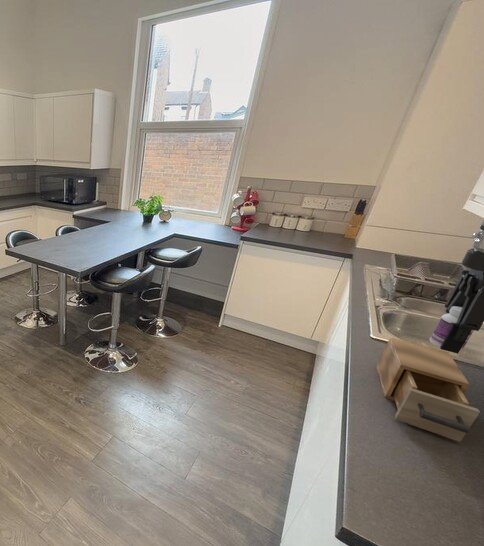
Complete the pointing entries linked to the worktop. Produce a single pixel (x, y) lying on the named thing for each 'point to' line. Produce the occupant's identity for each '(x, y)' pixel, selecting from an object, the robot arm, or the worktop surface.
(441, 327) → the pill bottle
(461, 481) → the worktop surface
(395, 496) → the worktop surface
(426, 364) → the cabinet
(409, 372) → the drawer
